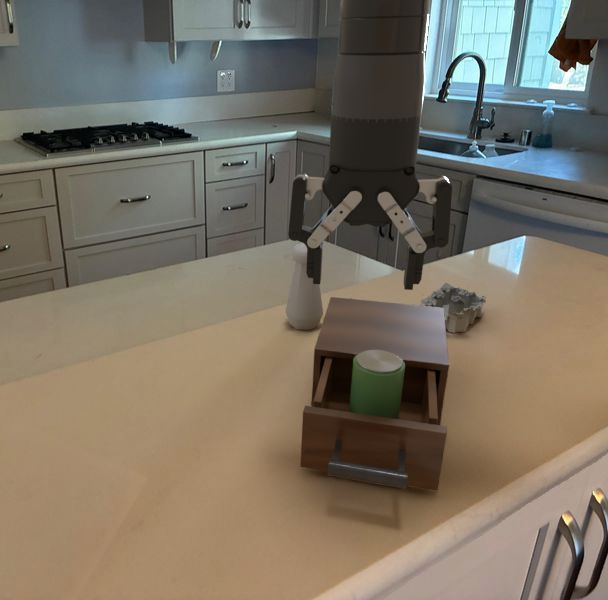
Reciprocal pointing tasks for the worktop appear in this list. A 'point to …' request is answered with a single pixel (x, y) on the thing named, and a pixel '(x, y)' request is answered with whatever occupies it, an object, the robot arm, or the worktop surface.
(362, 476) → the drawer
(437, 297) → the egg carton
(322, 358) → the cabinet
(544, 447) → the worktop surface
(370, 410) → the can
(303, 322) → the salt shaker
